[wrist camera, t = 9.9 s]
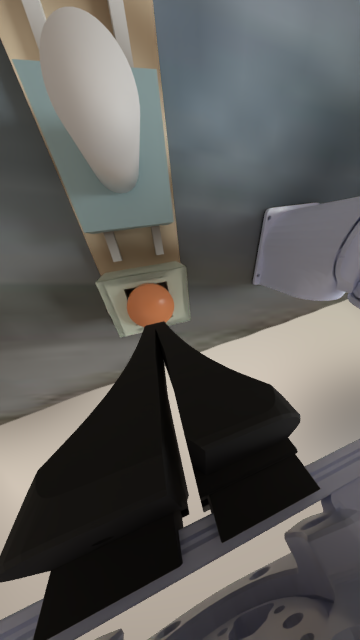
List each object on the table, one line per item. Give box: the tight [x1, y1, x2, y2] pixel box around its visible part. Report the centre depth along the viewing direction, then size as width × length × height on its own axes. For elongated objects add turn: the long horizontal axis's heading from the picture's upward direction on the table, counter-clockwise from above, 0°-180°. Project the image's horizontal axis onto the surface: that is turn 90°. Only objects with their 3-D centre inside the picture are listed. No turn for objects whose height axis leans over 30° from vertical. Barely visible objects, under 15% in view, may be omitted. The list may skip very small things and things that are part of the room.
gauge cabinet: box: [96, 261, 191, 338], centre depth 16 cm, size 6×8×5 cm
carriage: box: [12, 7, 174, 234], centre depth 8 cm, size 7×7×8 cm
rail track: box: [0, 0, 180, 297], centre depth 11 cm, size 28×9×3 cm, turn 7°
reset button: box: [127, 283, 174, 327], centre depth 15 cm, size 4×4×4 cm
